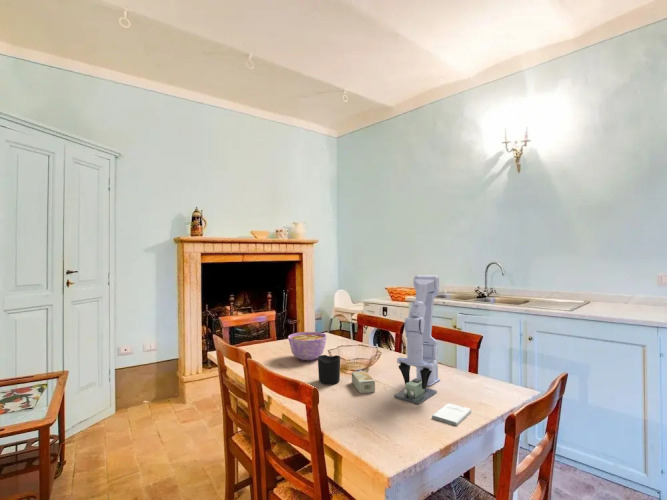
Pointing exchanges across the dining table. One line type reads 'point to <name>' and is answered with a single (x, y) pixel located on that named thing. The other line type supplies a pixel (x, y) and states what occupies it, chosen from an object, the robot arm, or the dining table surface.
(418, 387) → the green block
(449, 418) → the external hard drive
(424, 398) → the plate
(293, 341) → the bowl of food
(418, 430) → the dining table surface
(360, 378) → the skincare box
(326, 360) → the pen holder
